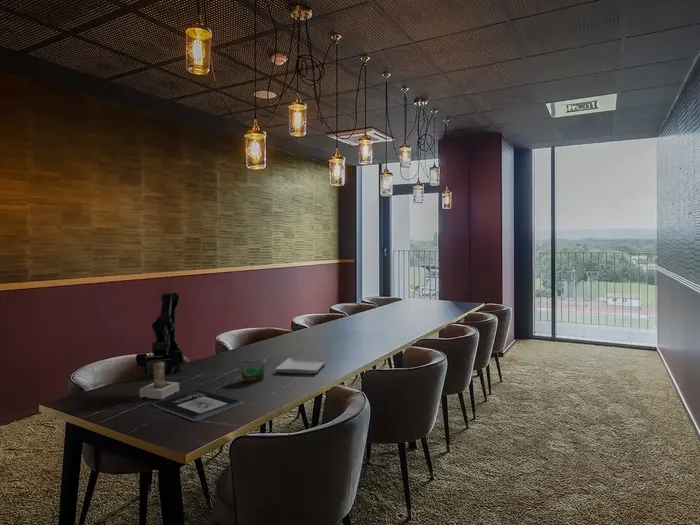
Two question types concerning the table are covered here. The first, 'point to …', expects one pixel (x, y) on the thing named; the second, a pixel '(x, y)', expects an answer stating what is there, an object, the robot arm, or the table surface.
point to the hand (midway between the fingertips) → (158, 375)
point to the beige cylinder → (159, 375)
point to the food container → (252, 370)
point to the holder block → (159, 390)
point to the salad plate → (301, 365)
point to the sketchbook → (197, 404)
